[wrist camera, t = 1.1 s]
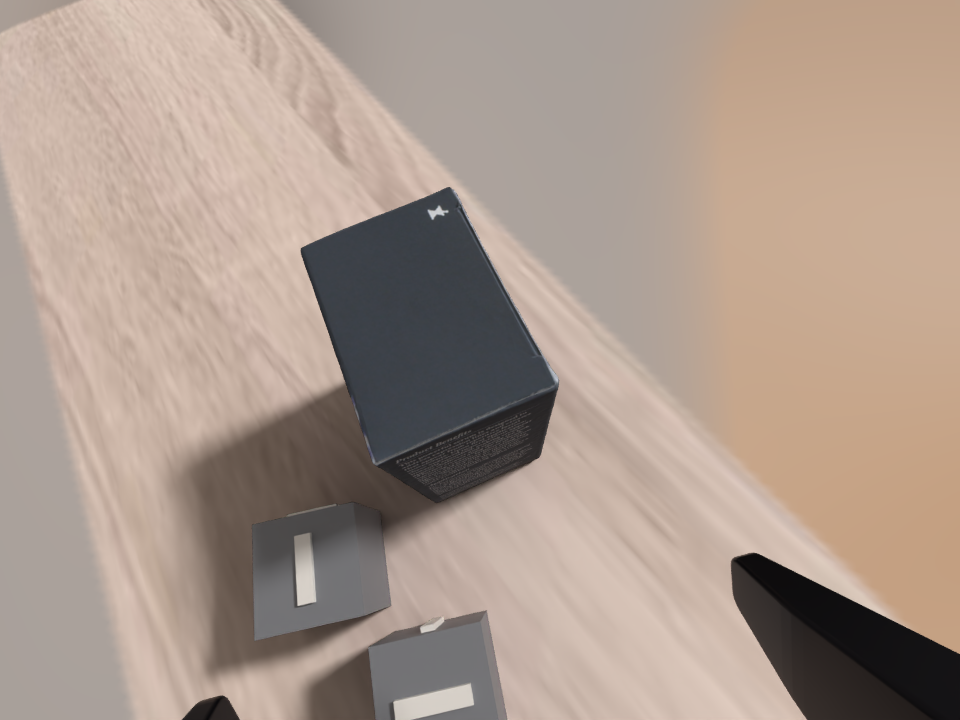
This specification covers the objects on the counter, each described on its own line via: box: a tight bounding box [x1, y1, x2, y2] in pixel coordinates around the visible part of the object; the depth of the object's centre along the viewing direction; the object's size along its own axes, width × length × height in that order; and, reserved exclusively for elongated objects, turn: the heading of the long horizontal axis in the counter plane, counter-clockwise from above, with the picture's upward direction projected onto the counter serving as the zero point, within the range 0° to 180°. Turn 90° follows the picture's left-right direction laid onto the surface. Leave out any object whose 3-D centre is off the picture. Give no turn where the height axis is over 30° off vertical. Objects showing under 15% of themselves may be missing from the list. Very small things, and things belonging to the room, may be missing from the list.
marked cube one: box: [368, 610, 507, 720], centre depth 18 cm, size 4×4×4 cm
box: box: [301, 187, 559, 503], centre depth 19 cm, size 8×6×11 cm
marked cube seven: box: [252, 502, 391, 641], centre depth 20 cm, size 4×4×4 cm
